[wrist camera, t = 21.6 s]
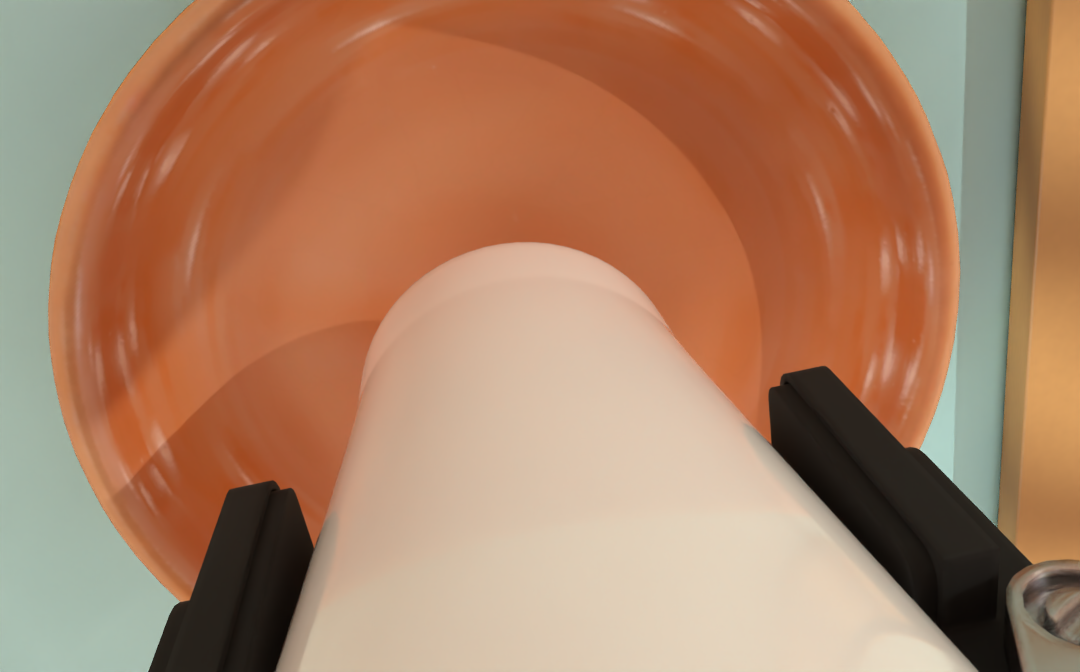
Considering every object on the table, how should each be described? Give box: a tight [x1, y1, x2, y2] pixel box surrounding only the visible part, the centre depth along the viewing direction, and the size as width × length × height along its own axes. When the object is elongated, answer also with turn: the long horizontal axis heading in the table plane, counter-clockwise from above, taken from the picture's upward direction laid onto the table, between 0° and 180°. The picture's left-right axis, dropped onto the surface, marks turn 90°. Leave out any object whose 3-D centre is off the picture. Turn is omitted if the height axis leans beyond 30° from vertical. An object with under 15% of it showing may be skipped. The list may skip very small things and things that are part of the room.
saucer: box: [48, 0, 960, 602], centre depth 17 cm, size 16×16×3 cm
